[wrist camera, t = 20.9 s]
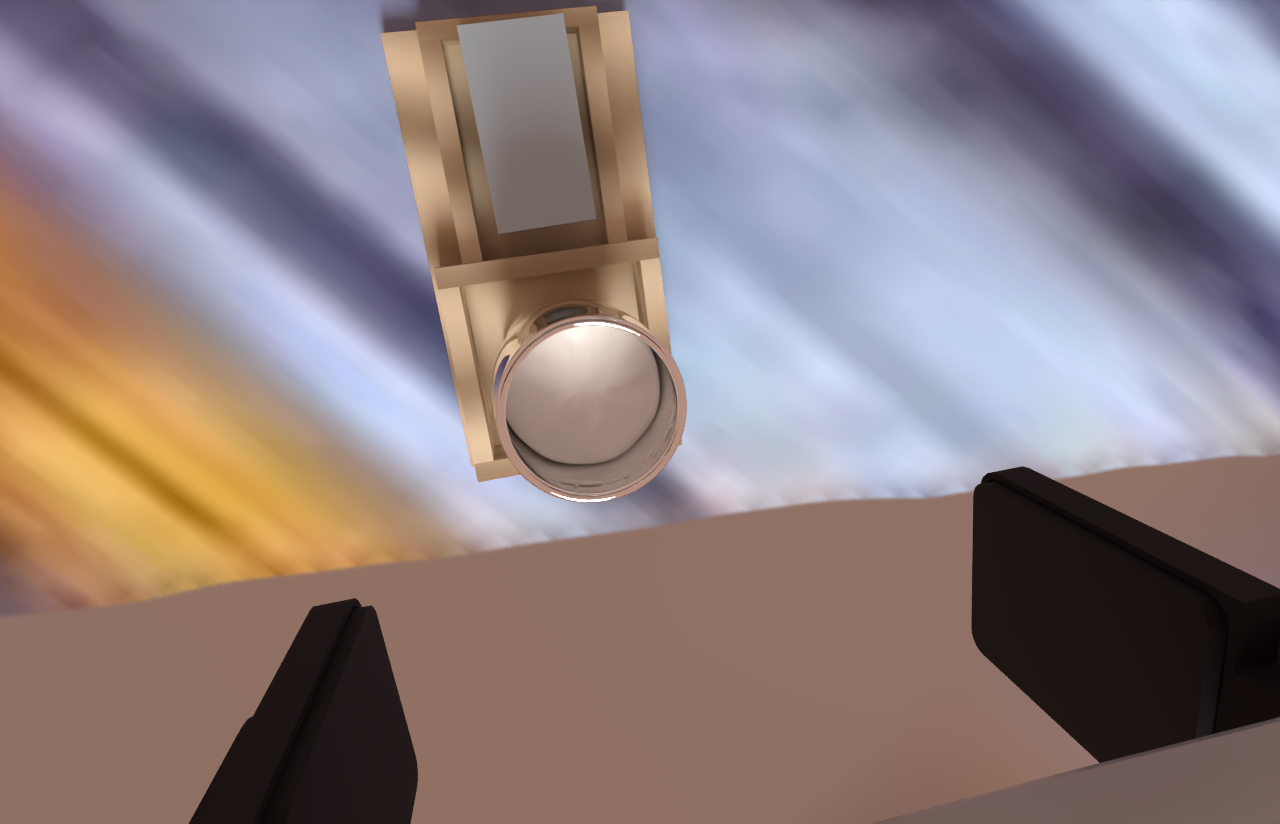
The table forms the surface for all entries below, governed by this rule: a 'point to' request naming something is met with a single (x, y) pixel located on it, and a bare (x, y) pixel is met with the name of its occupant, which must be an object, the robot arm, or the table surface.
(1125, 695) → the robot arm
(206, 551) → the table surface
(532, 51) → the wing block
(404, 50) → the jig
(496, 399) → the beer glass
